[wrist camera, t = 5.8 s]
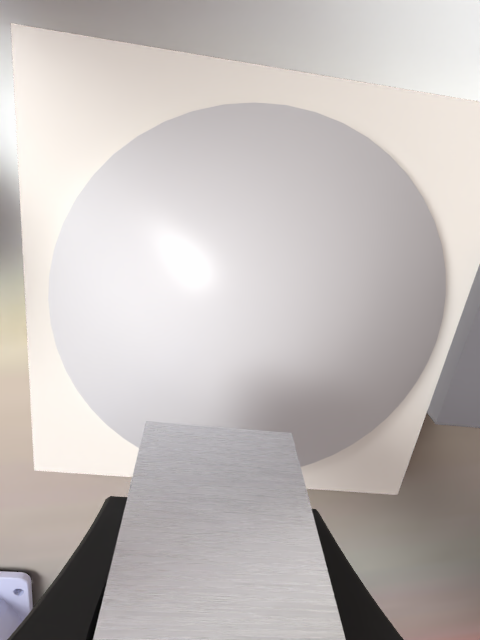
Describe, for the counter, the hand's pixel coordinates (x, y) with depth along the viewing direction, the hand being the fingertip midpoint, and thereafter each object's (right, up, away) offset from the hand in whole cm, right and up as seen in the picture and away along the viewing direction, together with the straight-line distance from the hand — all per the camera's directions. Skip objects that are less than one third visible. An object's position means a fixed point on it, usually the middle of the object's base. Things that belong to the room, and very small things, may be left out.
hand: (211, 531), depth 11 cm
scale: (+2, +6, +6) cm, 9 cm away
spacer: (0, +1, +1) cm, 2 cm away
